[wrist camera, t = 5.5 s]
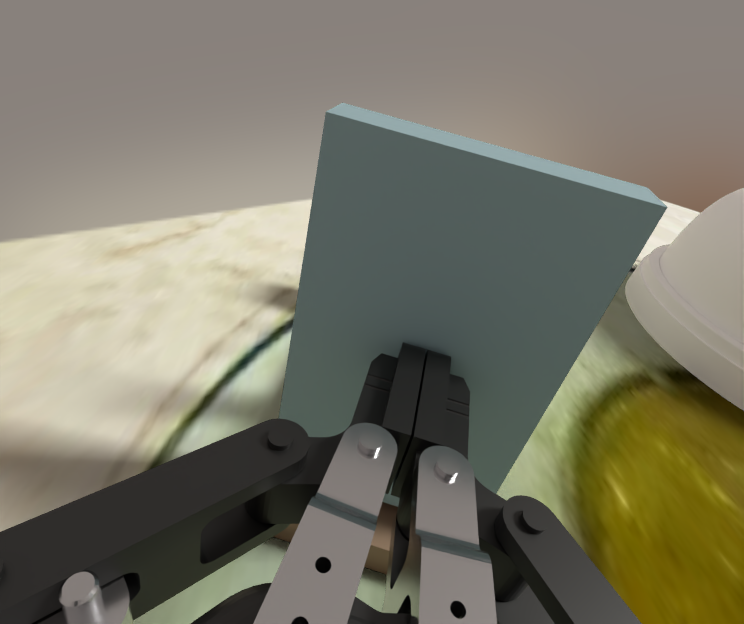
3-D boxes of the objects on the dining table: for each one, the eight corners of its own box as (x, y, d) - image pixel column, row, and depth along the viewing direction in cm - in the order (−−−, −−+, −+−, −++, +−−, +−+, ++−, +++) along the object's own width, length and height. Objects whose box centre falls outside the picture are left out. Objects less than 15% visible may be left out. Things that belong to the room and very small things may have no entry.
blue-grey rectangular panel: (473, 531, 18) (667, 206, 10) (271, 465, 18) (325, 111, 11) (475, 441, 21) (619, 159, 14) (308, 389, 22) (366, 89, 15)
